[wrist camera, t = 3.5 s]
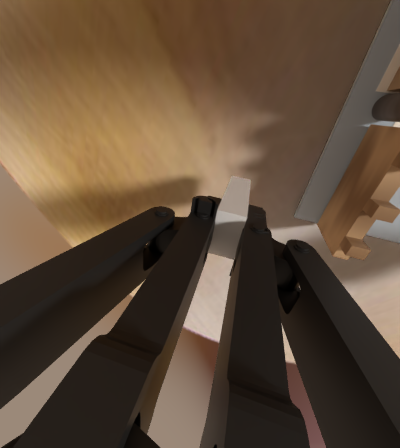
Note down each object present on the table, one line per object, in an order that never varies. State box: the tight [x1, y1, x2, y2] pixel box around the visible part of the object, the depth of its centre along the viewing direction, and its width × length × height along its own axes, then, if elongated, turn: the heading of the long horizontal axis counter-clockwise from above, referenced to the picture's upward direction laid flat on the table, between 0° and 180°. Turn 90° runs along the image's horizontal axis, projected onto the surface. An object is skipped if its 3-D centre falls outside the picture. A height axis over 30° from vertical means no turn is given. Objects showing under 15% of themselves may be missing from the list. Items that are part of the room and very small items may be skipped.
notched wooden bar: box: [317, 124, 400, 260], centre depth 14 cm, size 8×1×6 cm, turn 171°
